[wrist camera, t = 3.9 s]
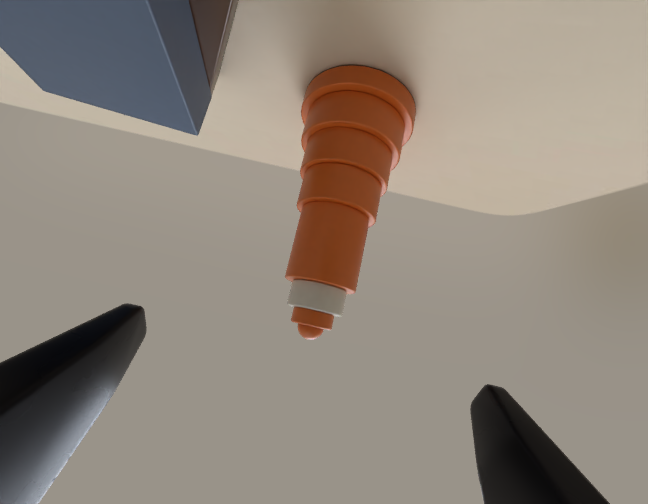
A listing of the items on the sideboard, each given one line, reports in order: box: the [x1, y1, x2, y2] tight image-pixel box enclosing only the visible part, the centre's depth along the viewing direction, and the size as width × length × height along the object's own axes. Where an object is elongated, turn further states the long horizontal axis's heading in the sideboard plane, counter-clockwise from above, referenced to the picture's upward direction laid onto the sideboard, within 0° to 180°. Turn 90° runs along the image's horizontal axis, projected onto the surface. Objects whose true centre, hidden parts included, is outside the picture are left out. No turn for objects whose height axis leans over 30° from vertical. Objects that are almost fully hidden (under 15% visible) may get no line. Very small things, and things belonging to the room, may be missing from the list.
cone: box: [285, 65, 416, 340], centre depth 16 cm, size 6×6×12 cm
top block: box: [0, 0, 212, 135], centre depth 11 cm, size 7×7×2 cm
